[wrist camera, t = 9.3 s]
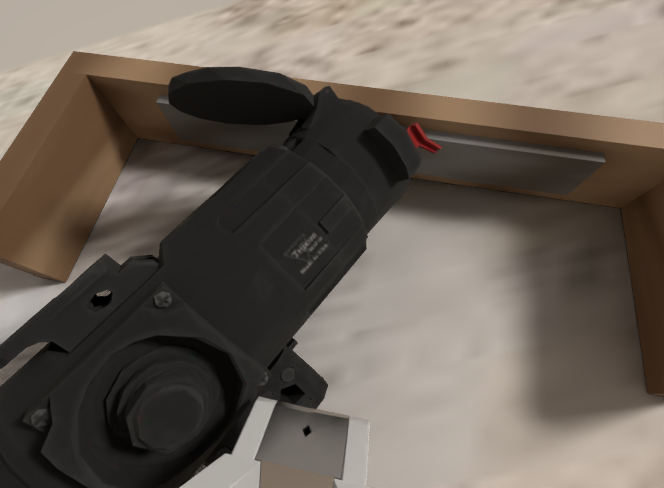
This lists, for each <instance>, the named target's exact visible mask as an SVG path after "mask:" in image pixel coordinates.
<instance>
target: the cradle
mask: <svg viewBox="0 0 664 488" xmlns="http://www.w3.org/2000/svg"><path fill="white" fill-rule="evenodd" d="M201 68H206V67H198V66H190V65H182V64H174V63H165V62H157V61H149V60H141V59H133V58H124V57H116V56H108V55H100V54H92V53H84V52H75V51H73V53H72V54H71V56H70V57H69V59H68V60H67V62H66V63H65V65H64V66H63V68H62V69H61V71H60V72H59V74H58V75H57V77H56V78H55V80H54V81H53V83H52V84H51V86H50V87H49V89H48V90H47V92H46V93H45V95H44V96H43V98H42V99H41V101H40V102H39V104H38V105H37V107H36V108H35V110H34V111H33V113H32V114H31V116H30V117H29V119H28V120H27V122H26V123H25V125H24V126H23V128H22V129H21V131H20V132H19V134H18V135H17V137H16V138H15V140H14V141H13V143H12V144H11V146H10V147H9V149H8V150H7V152H6V153H5V155H4V156H3V158H2V159H1V161H0V263H3V264H6V265H8V266H11V267H14V268H16V269H19V270H22V271H25V272H27V273H30V274H33V275H36V276H38V277H41V278H46V279H51V280H56V281H62V282H66V281H67V279H68V277H69V275H70V273H71V271H72V269H73V267H74V265H75V263H76V261H77V259H78V257H79V255H80V253H81V251H82V249H83V247H84V245H85V243H86V241H87V239H88V237H89V235H90V233H91V231H92V229H93V227H94V225H95V223H96V221H97V219H98V217H99V215H100V213H101V211H102V209H103V207H104V205H105V203H106V201H107V199H108V197H109V195H110V193H111V191H112V189H113V187H114V185H115V183H116V181H117V179H118V177H119V175H120V173H121V171H122V169H123V167H124V165H125V163H126V161H127V159H128V157H129V155H130V153H131V151H132V149H133V147H134V145H135V143H136V141H137V139H138V138H141V139H148V140H155V141H162V142H169V143H176V144H182V145H189V146H196V147H203V148H210V149H217V150H224V151H231V152H238V153H245V154H251V155H257V154H258V153H259V152H260V151H264V150H265V149H266V148H268V147H269V146H270V147H279V146H280V145H281V146H282V145H283V144H284V141H285V140H286V139H287V138H288V137H289V133H290V131H291V130H292V128H293V127H294V125H295V124H296V121H297V120H295V121H292V122H286V123H278V124H270V125H244V124H226V123H221V122H215V121H210V120H204V119H199V118H197V117H194V116H191V115H188V114H185V113H183V112H180V111H179V110H177V109H176V108H175V107H173V106H172V105H170V104H169V99H168V84H169V82H170V80H171V78H172V77H174V76H177V75H180V74H182V73H185V72H188V71H193V70H197V69H201ZM291 79H293V80H296V81H298V82H300V83H302V84H304V85H306V86H307V87H308V88H309V90H310V91H311V93H312V94H313V95H315V94H316V93H317V92H319V91H320V90H321V89H322V88H323V87H326V86H330V87H331V88H332V90H333V91H334V92H335V94H336V95H337V97H338V98H339V99H340V98H341V99H346V100H352V101H355V102H360V103H361V104H363V105H366V106H369V107H370V108H371V109H372V110H374V111H375V112H377V113H378V114H379V115H380V116H381V115H384V114H387V113H388V114H390V115H391V116H392V117H393V118H394V119H395V120H396V121H397V122H398V123H399V124H400V125H401V126H402V127H403V128H404V129H407V128H408V127H409V125H410V124H413V123H416V122H418V124H419V125H420V127H421V128H422V130H423V132H424V133H425V135H426V136H427V138H428V139H430V140H431V141H433V142H435V143H436V144H438V145H440V146H441V147H442V148H441V149H440V150H437V153H435V154H433V153H431V152H429V151H427V150H425V149H423V148H420V147H417V148H416V149H417V151H418V153H419V155H420V157H421V165H420V167H419V168H418V169H417V170H416V171H415V173H414V174H413V175H412V176H411V178H417V179H424V180H431V181H438V182H444V183H451V184H458V185H465V186H472V187H479V188H486V189H493V190H500V191H507V192H513V193H520V194H527V195H534V196H541V197H548V198H555V199H562V200H569V201H575V202H582V203H589V204H596V205H603V206H610V207H617V208H621V212H622V219H623V226H624V233H625V240H626V247H627V253H628V260H629V267H630V274H631V281H632V288H633V295H634V302H635V309H636V316H637V323H638V330H639V337H640V344H641V350H642V357H643V364H644V371H645V378H646V385H647V392H648V394H653V395H658V396H663V397H664V123H657V122H649V121H641V120H632V119H624V118H616V117H608V116H600V115H592V114H583V113H575V112H567V111H559V110H551V109H542V108H534V107H526V106H518V105H510V104H501V103H493V102H485V101H477V100H469V99H460V98H452V97H444V96H436V95H428V94H419V93H411V92H403V91H395V90H387V89H378V88H370V87H362V86H354V85H346V84H338V83H329V82H321V81H313V80H305V79H297V78H291Z"/></svg>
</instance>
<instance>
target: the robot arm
mask: <svg viewBox="0 0 664 488" xmlns="http://www.w3.org/2000/svg"><path fill="white" fill-rule="evenodd" d="M369 430H370V423H369V420H366V419H361V418H356V417H352V416H348V415H343V414H338V413H333V412H328V411H323V410H318V409H313V408H311V409H310V408H306V407H302V406H298V405H294V404H290V403H286V402H282V401H277V400H272V399H268V398H264V397H258V398H257V400H256V401H255V402H254V405H253V407H252V409H251V411H250V413H249V416H248V418H247V420H246V422H245V424H244V427H243V429H242V431H241V433H240V435H239V438H238V440H237V442H236V444H235V447H234V449H233V451H232V453H231V454H226V453H225V454H223V455H222V456H221V457H219V458H218V459H217V460H215V461H214V462H213V463H211V464H210V465H209V466H207V467H206V468H205V469H203V470H202V471H201V472H199V473H198V474H197V475H195V476H194V477H193V478H191V479H190V480H189V481H187V482H186V483H185V484H183V485H182V486H181V487H179V488H373V487H369V486H366V482H367V465H368V447H369Z"/></svg>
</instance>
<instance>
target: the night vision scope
mask: <svg viewBox="0 0 664 488" xmlns="http://www.w3.org/2000/svg"><path fill="white" fill-rule="evenodd" d="M168 99H169V104H170V105H172V106H173V107H175V108H176V109H177V110H179V111H180V112H183V113H185V114H188V115H191V116H194V117H197V118H199V119H204V120H210V121H215V122H221V123H226V124H244V125H270V124H278V123H286V122H292V121H295V120H297V121H296V124H295V125H294V127H293V128H292V130H291V131H290V133H289V137H288V138H287V139H286V140H285V141H284V144H283V145H282V146H281V145H280V146H279V147H270V146H269V147H268V148H266V149H265V150H264V151H260V152H259V153H258V154H257V155H255V156H254V157H253V158H252V159H251V160H250V161H249V162H248V163H247V164H246V165H245V166H244V167H242V168H241V169H240V170H239V171H238V172H237V173H236V174H235V175H234V176H233V177H232V178H231V179H229V180H228V181H227V182H226V183H225V184H224V185H223V186H222V187H221V188H220V189H219V190H218V191H216V192H215V193H214V194H213V195H212V196H211V197H210V198H209V199H208V200H206V201H205V202H204V203H203V204H202V205H201V206H200V207H198V208H197V209H196V210H195V211H194V212H193V213H192V214H191V215H190V216H189V217H187V218H186V219H185V220H184V221H182V223H181V224H180V225H179V226H177V227H176V228H175V229H174V230H173V231H172V232H171V233H170V234H169V235H168V236H166V237H165V238H164V239H163V240H162V241H161V243H160V249H159V257H158V258H155V257H154V256H153V255H145V256H135V257H130V258H129V259H128V260H127V261H125V262H124V263H123V264H122V265H119V264H118V263H117V262H116V261H114V260H113V259H112V258H110V257H109V256H108V255H107V254H104V255H103V256H102V257H101V258H100V259H99V260H97V261H96V262H95V263H94V264H93V265H92V266H90V267H89V268H88V269H87V270H86V271H85V272H84V273H82V274H81V275H80V276H79V277H78V278H77V279H76V280H75V281H74V282H73V283H72V284H71V285H70V286H69V287H67V288H66V289H65V290H64V291H63V292H62V293H61V294H59V295H58V296H57V297H56V298H54V299H53V300H51V301H50V302H49V303H48V304H47V305H46V306H45V307H43V308H42V309H41V310H40V311H39V312H38V313H36V314H35V315H34V316H33V317H32V318H31V319H30V320H28V321H27V322H26V323H25V324H24V325H23V326H22V327H20V328H19V329H18V330H17V331H16V332H15V333H14V334H12V335H11V336H10V337H9V338H8V339H7V340H6V341H4V342H3V343H2V344H1V345H0V369H1V368H3V367H4V366H5V365H6V364H8V363H9V362H10V361H11V360H12V359H14V358H15V357H16V356H17V355H18V354H19V353H21V352H22V351H23V350H24V349H25V348H27V347H29V346H32V345H34V344H36V343H38V342H49V343H48V344H47V345H46V346H45V347H44V348H43V349H42V350H40V351H39V352H38V353H37V354H36V355H35V356H34V357H33V358H32V359H30V360H29V361H28V362H27V363H26V364H25V365H24V366H23V367H22V368H21V369H19V370H18V371H17V372H16V373H15V374H14V375H13V376H12V377H11V378H9V379H8V380H7V381H6V382H5V383H4V384H3V385H2V386H1V387H0V488H179V487H181V486H182V485H183V484H185V483H186V482H187V481H188V480H189V479H190V478H191V477H192V476H193V474H194V473H195V472H196V471H197V469H198V468H199V467H200V466H201V464H203V465H205V466H209V465H210V464H211V463H213V462H214V461H215V460H217V459H218V458H219V457H221V456H222V455H223V454H225V453H226V454H231V453H232V451H233V449H234V447H235V444H236V442H237V440H238V438H239V435H240V433H241V431H242V429H243V427H244V424H245V422H246V420H247V418H248V416H249V413H250V411H251V409H252V407H253V405H254V402H255V401H256V400H257V398H258V397H264V398H268V399H272V400H277V401H282V402H286V403H290V404H294V405H298V406H302V407H306V408H310V409H311V408H313V409H317V407H318V406H319V405H320V403H321V402H322V401H323V399H324V397H325V394H326V390H327V387H328V384H327V383H326V381H325V380H324V379H323V377H321V376H320V375H319V374H318V373H317V372H316V371H315V370H314V369H313V368H312V367H310V366H309V365H308V364H307V363H306V362H305V361H304V360H303V359H301V358H300V357H299V356H298V355H297V354H296V353H295V352H294V351H293V348H294V347H295V346H296V345H297V344H298V343H297V341H296V340H294V339H293V338H292V337H293V336H294V335H295V334H296V332H297V331H298V330H299V329H300V328H301V326H302V325H303V324H304V323H305V322H306V320H307V319H308V318H309V317H310V316H311V315H312V313H313V312H314V311H315V310H316V309H317V307H318V306H319V305H320V304H321V303H322V301H323V300H324V299H325V298H326V297H327V295H328V294H329V293H330V292H331V291H332V290H333V288H334V287H335V286H336V285H337V284H338V282H339V281H340V280H341V279H342V278H343V276H344V275H345V274H346V273H347V272H348V270H349V269H350V268H351V267H352V266H353V264H354V263H355V262H356V261H357V260H358V259H359V257H360V256H361V255H362V254H363V253H364V251H365V250H366V239H367V238H368V236H367V234H368V233H369V232H370V230H371V229H372V228H373V227H374V226H375V225H376V224H377V222H378V221H379V220H380V219H381V218H382V217H383V216H384V215H385V213H386V212H387V211H388V210H389V209H390V208H391V207H392V206H393V205H394V203H395V202H396V201H397V200H398V199H399V198H400V197H401V196H402V194H403V193H404V192H405V191H406V189H407V187H408V185H409V183H410V179H411V176H412V175H413V174H414V173H415V171H416V170H417V169H418V168H419V167H420V165H421V157H420V155H419V153H418V151H417V149H416V148H417V147H420V148H423V149H425V150H427V151H429V152H431V153H433V154H435V153H437V150H440V149H441V148H442V147H441V146H440V145H438V144H436V143H435V142H433V141H431V140H430V139H428V138H427V136H426V135H425V133H424V132H423V130H422V128H421V127H420V125H419V124H418V122H416V123H413V124H410V125H409V127H408V128H407V129H404V128H403V127H402V126H401V125H400V124H399V123H398V122H397V121H396V120H395V119H394V118H393V117H392V116H391V115H390V114H388V113H387V114H384V115H381V116H380V115H379V114H378V113H377V112H375V111H374V110H372V109H371V108H370V107H369V106H366V105H363V104H361V103H360V102H355V101H352V100H346V99H341V98H340V99H339V98H338V97H337V95H336V94H335V92H334V91H333V90H332V88H331V87H330V86H326V87H323V88H322V89H321V90H320V91H319V92H317V93H316V94H315V95H313V94H312V93H311V91H310V90H309V88H308V87H307V86H306V85H304V84H302V83H300V82H298V81H296V80H293V79H291V78H289V77H287V76H285V75H282V74H280V73H275V72H269V71H262V70H256V69H250V68H243V67H206V68H201V69H197V70H193V71H188V72H185V73H182V74H180V75H177V76H174V77H172V78H171V80H170V82H169V84H168ZM107 289H108V290H109V291H111V293H110V294H109V295H108V296H97V295H96V293H99V292H102V291H105V290H107Z"/></svg>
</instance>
